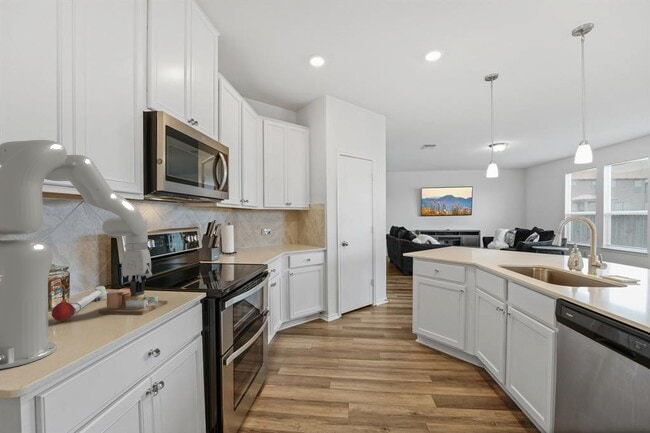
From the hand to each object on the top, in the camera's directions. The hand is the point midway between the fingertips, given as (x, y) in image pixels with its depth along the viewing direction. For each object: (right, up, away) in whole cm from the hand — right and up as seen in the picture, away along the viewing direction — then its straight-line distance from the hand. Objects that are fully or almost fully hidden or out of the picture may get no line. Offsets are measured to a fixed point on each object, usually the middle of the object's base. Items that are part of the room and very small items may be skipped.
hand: (137, 290), depth 113 cm
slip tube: (-3, -5, 0) cm, 6 cm away
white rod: (-24, -8, +4) cm, 26 cm away
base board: (-1, -7, 0) cm, 7 cm away
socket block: (-8, -6, +1) cm, 10 cm away
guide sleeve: (+2, -6, 0) cm, 6 cm away
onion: (-17, -8, -14) cm, 24 cm away
